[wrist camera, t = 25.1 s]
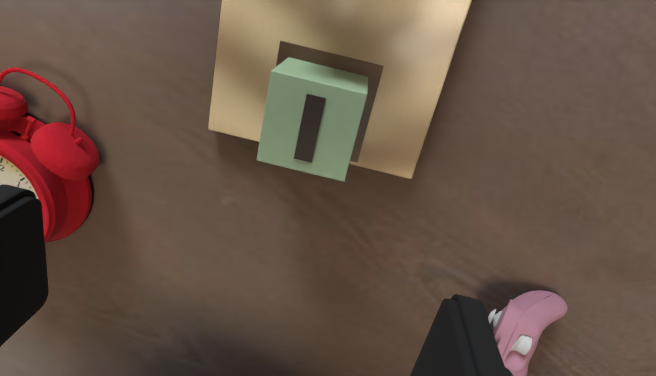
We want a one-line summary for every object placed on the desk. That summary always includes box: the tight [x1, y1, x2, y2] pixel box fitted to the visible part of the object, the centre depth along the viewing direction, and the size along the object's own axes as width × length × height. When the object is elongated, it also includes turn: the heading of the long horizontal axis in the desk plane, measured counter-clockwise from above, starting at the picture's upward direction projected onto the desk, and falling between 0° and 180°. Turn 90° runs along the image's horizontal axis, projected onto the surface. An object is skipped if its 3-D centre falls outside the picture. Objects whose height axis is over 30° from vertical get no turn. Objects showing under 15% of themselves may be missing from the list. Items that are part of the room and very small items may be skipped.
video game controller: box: [488, 290, 568, 376], centre depth 32 cm, size 10×5×7 cm, turn 169°
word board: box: [208, 0, 472, 179], centre depth 25 cm, size 18×14×1 cm
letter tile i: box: [256, 57, 368, 182], centre depth 25 cm, size 5×5×5 cm
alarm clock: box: [0, 68, 99, 243], centre depth 30 cm, size 10×6×15 cm
